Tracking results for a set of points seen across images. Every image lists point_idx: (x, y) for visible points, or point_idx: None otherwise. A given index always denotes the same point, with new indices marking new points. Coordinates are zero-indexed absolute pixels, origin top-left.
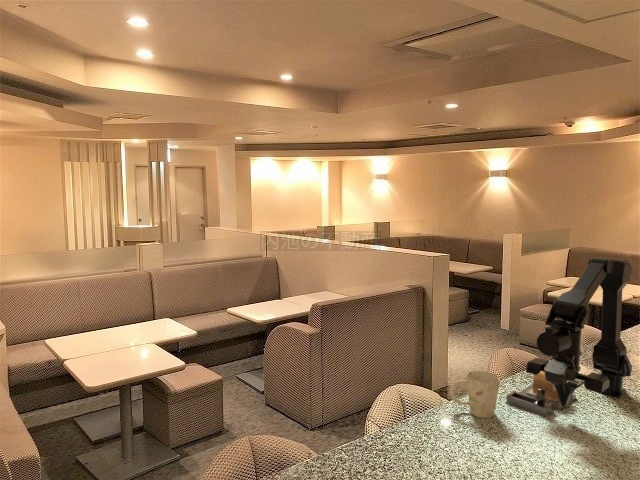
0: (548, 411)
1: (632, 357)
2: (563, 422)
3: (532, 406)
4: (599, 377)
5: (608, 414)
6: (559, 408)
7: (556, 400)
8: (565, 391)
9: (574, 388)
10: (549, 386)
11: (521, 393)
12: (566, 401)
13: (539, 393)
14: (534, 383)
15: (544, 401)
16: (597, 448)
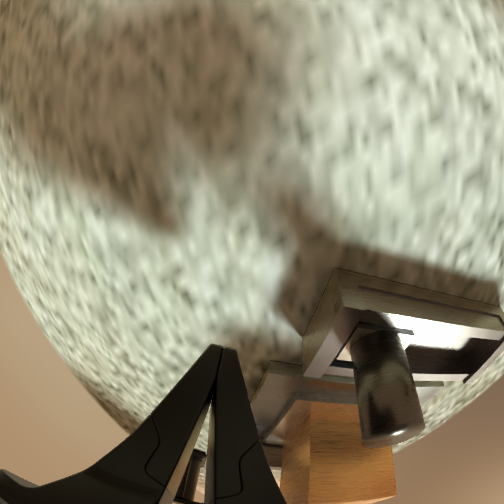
0: (325, 307)
1: (202, 492)
2: (222, 237)
3: (420, 308)
4: None
5: (117, 376)
6: (273, 366)
7: (292, 406)
8: (165, 465)
9: (3, 474)
10: (326, 459)
11: (428, 393)
12: (184, 377)
13: (408, 401)
14: (387, 451)
15: (359, 363)
16: (27, 48)
